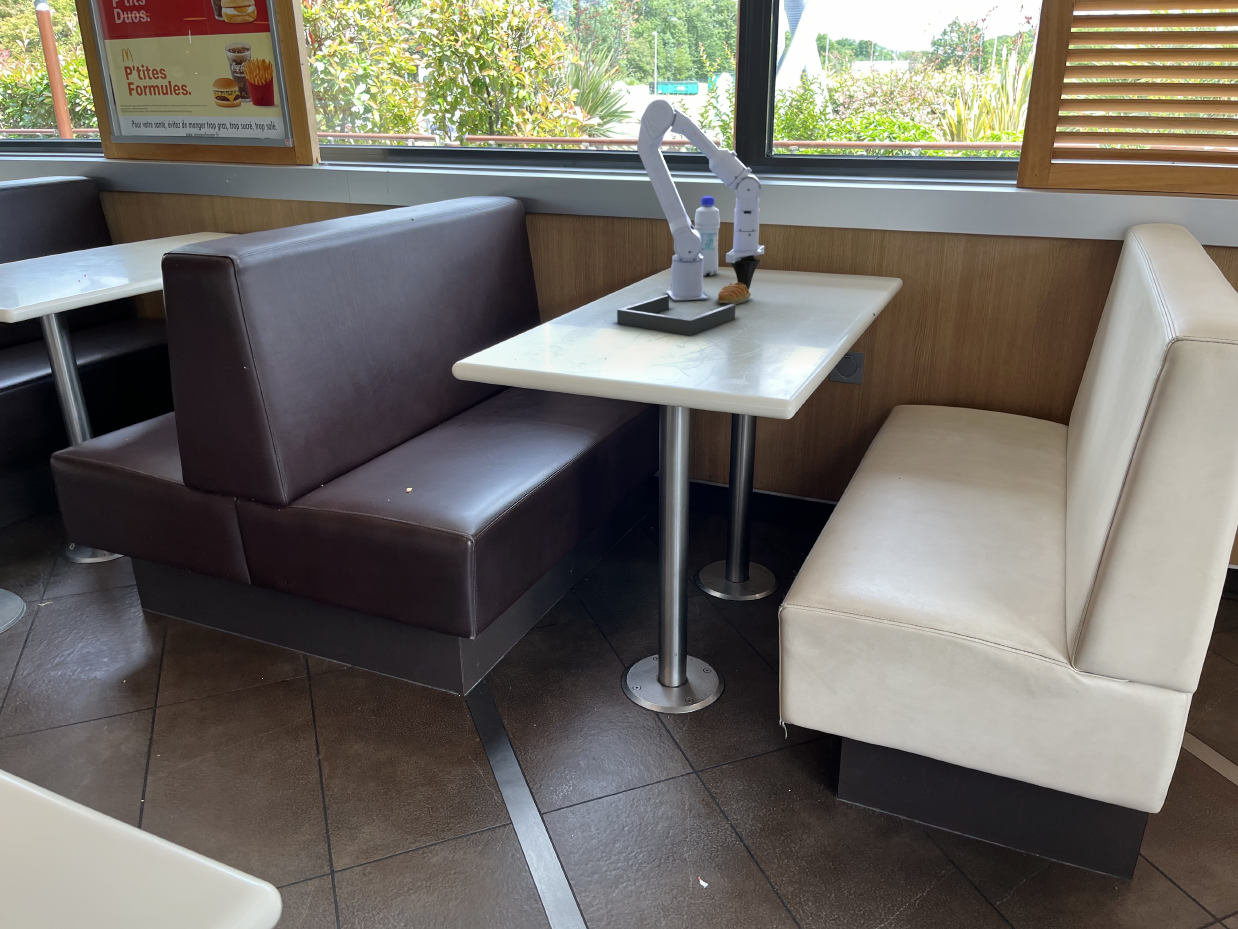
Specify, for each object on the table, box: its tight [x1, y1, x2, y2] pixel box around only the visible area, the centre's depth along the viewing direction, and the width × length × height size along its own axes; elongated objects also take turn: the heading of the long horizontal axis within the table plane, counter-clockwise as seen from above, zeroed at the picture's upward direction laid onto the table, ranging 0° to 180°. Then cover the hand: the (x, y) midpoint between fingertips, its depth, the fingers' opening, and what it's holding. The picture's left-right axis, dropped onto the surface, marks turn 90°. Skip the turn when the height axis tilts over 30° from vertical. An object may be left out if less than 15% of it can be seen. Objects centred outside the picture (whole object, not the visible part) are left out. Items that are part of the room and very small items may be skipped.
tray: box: [616, 294, 736, 337], centre depth 188 cm, size 18×18×3 cm
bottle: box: [693, 195, 721, 277], centre depth 234 cm, size 7×7×20 cm
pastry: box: [717, 281, 752, 306], centre depth 205 cm, size 9×7×4 cm
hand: (744, 289), depth 208 cm, fingers closed
